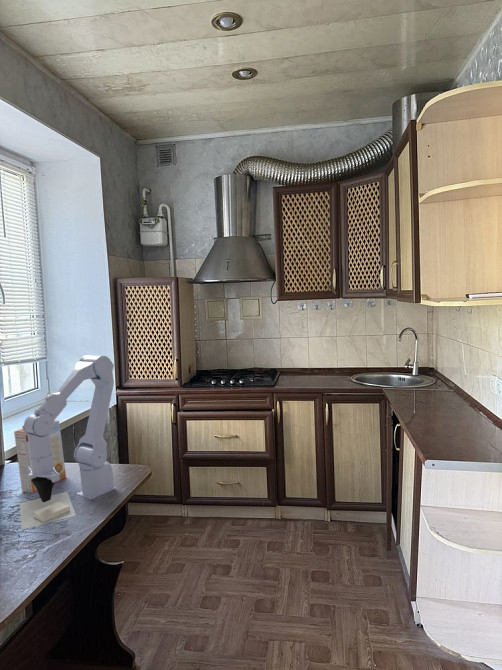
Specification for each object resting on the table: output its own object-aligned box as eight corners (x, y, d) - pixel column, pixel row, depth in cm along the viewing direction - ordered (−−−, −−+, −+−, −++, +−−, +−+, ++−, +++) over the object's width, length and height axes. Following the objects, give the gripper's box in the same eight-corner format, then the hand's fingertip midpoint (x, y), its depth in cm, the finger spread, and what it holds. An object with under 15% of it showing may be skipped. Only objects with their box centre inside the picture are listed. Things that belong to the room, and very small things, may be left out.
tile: (58, 501, 144) (69, 505, 140) (59, 506, 144) (70, 511, 140) (32, 512, 138) (43, 517, 134) (33, 517, 138) (44, 522, 134)
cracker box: (54, 476, 171) (48, 419, 169) (66, 478, 168) (60, 419, 166) (20, 492, 158) (13, 430, 156) (33, 494, 155) (26, 431, 153)
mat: (19, 504, 148) (19, 503, 148) (67, 492, 155) (67, 491, 155) (22, 531, 131) (21, 529, 131) (75, 516, 137) (75, 515, 137)
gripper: (15, 455, 140) (20, 500, 141) (40, 464, 131) (46, 511, 132) (38, 448, 146) (43, 491, 147) (64, 456, 137) (69, 501, 138)
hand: (46, 500), depth 140 cm, fingers closed
